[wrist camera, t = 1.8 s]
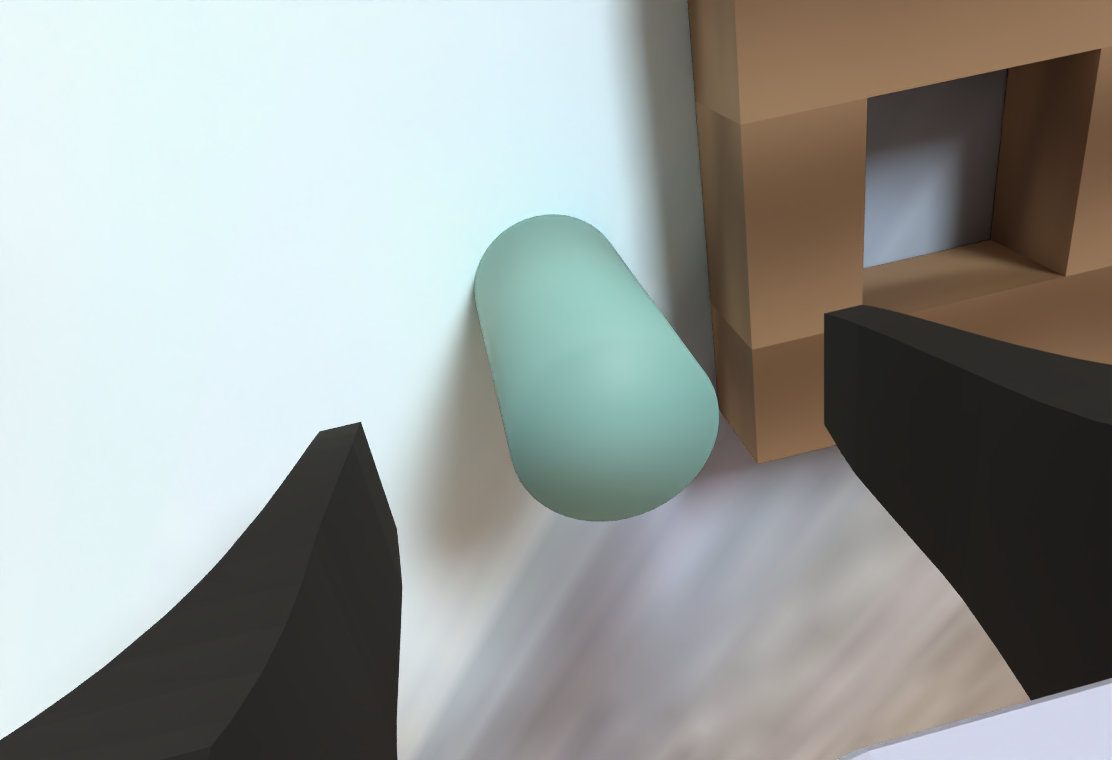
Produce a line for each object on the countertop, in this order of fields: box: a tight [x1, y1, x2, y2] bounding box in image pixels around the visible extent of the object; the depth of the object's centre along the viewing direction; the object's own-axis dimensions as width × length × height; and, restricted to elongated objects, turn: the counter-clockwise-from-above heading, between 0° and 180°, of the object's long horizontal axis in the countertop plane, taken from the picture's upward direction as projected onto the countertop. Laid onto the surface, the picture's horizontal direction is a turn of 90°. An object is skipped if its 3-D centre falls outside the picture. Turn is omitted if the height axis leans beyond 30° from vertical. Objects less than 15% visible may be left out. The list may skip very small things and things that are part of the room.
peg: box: [474, 215, 719, 521], centre depth 15 cm, size 3×3×6 cm
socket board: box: [688, 0, 1112, 464], centre depth 16 cm, size 12×9×2 cm
